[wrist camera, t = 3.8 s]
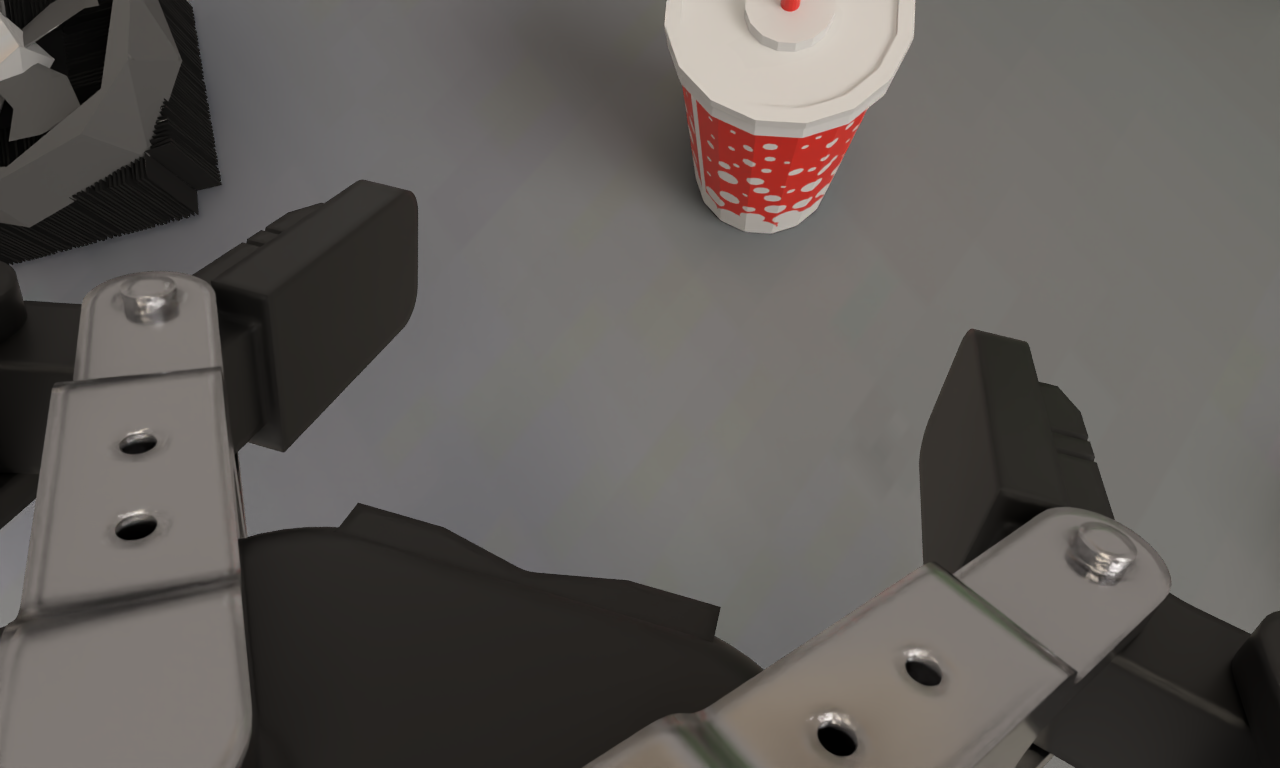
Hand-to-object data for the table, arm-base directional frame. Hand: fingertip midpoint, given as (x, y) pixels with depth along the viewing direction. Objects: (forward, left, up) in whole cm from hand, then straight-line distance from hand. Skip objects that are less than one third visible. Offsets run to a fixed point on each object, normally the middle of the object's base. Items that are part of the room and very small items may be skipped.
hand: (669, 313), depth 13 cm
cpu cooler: (-21, -13, -16) cm, 30 cm away
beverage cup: (-7, +7, -16) cm, 19 cm away
